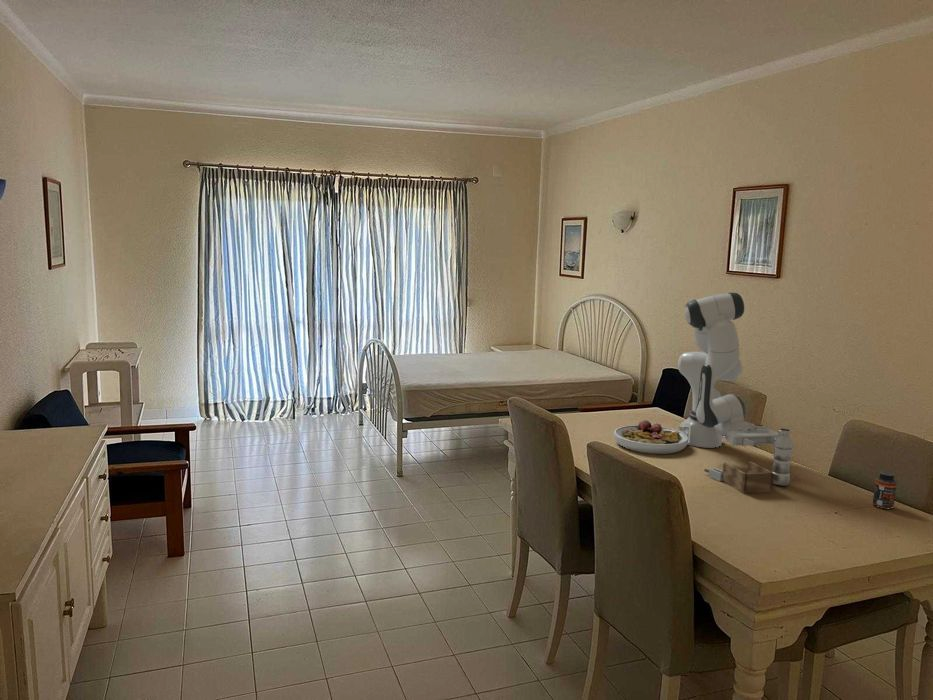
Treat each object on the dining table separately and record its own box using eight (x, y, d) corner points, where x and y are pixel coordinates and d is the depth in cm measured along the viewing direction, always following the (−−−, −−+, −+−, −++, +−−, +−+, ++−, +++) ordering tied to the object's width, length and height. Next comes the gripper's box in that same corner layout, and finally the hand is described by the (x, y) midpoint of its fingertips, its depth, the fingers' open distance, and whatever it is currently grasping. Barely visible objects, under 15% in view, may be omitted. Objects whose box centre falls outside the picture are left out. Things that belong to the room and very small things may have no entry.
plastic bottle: (768, 485, 246) (773, 430, 243) (770, 480, 252) (775, 426, 249) (788, 489, 243) (794, 433, 240) (790, 483, 249) (795, 429, 246)
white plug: (701, 474, 256) (702, 467, 256) (707, 473, 258) (708, 465, 257) (726, 483, 247) (727, 475, 247) (732, 482, 249) (733, 474, 248)
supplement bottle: (882, 510, 225) (886, 476, 223) (868, 503, 231) (872, 470, 229) (898, 509, 226) (902, 475, 225) (883, 502, 232) (887, 470, 230)
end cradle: (722, 480, 250) (723, 462, 249) (749, 479, 252) (751, 461, 251) (743, 493, 238) (745, 474, 236) (772, 492, 240) (774, 473, 239)
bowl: (696, 457, 278) (698, 438, 277) (621, 455, 278) (622, 436, 277) (675, 436, 308) (677, 419, 306) (607, 435, 308) (608, 417, 307)
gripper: (720, 426, 266) (741, 436, 252) (767, 424, 270) (791, 434, 257) (718, 442, 267) (740, 453, 253) (766, 440, 271) (789, 451, 258)
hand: (766, 443), depth 255 cm, fingers open, 8 cm apart
